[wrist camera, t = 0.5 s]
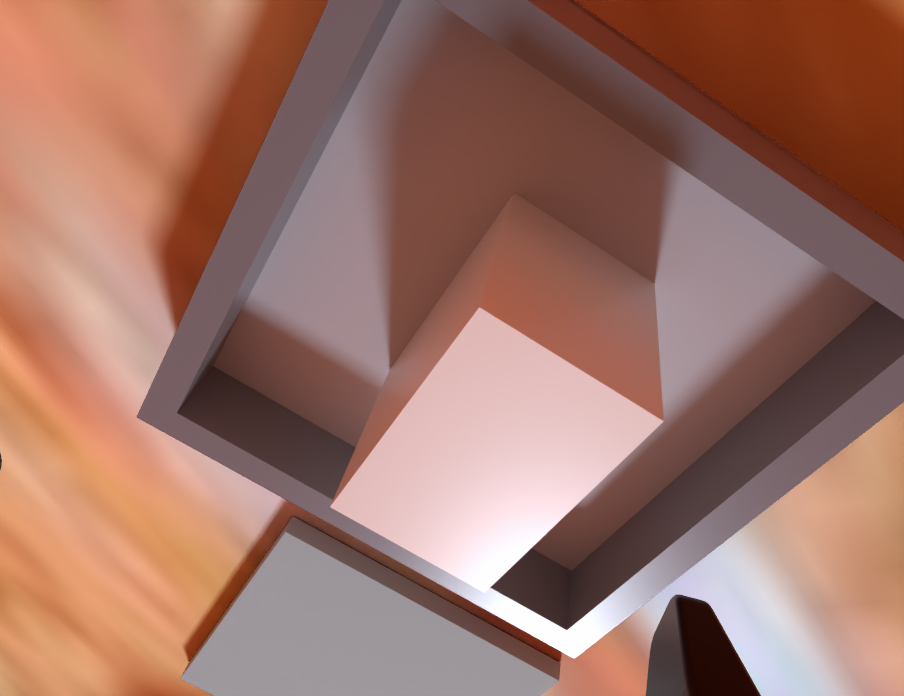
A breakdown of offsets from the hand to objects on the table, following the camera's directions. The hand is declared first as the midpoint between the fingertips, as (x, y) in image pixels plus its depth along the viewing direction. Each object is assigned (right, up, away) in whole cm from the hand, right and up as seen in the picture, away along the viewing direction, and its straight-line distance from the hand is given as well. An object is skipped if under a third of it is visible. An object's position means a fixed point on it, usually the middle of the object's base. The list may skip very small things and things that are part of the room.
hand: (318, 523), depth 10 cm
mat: (-2, -11, +24) cm, 26 cm away
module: (+3, +3, +13) cm, 13 cm away
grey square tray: (+3, +3, +13) cm, 14 cm away
